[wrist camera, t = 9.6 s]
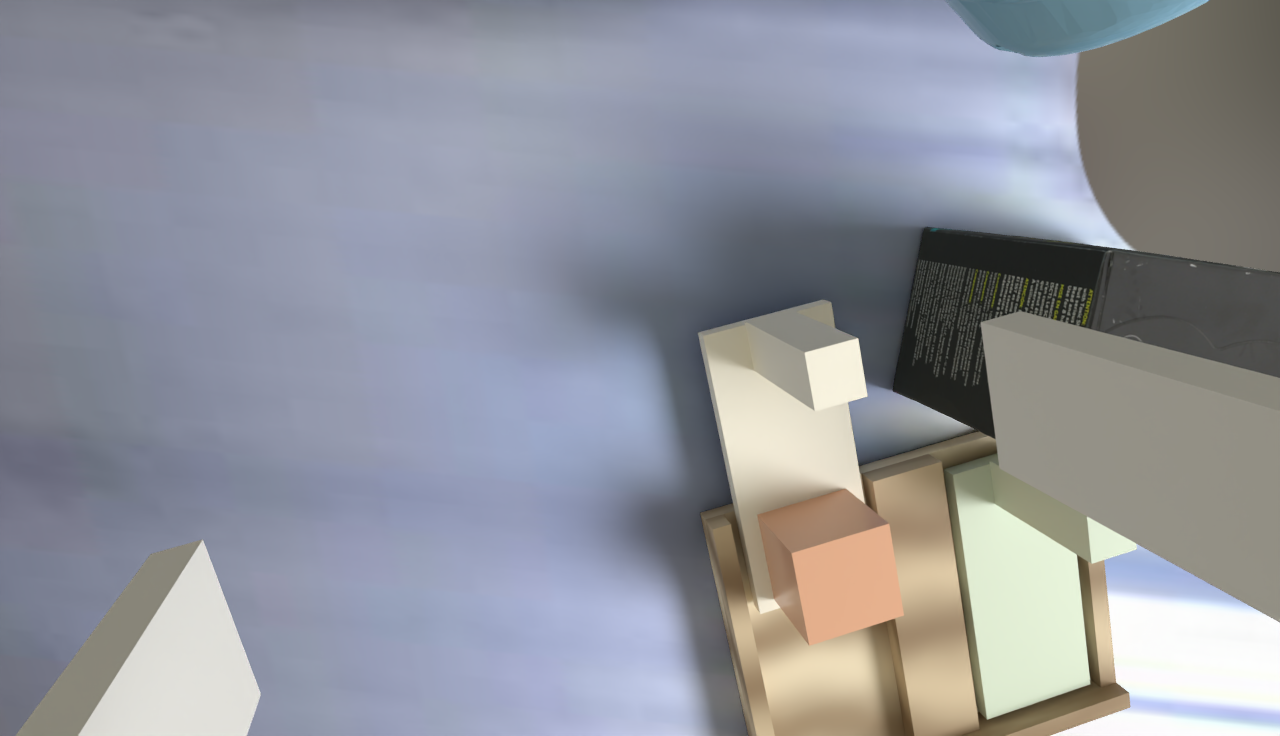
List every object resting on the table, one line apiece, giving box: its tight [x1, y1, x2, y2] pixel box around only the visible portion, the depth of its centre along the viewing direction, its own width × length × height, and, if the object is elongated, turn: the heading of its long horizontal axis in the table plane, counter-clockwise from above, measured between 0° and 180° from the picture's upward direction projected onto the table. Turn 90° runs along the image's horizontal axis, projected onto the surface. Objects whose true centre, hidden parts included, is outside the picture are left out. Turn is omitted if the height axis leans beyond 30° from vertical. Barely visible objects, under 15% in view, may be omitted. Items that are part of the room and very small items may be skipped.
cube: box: [757, 489, 904, 646], centre depth 47 cm, size 5×5×5 cm
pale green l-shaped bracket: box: [944, 453, 1137, 720], centre depth 49 cm, size 16×7×9 cm, turn 13°
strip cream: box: [698, 299, 868, 614], centre depth 45 cm, size 16×7×9 cm, turn 13°
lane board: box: [700, 431, 1130, 736], centre depth 53 cm, size 18×22×4 cm
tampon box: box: [893, 227, 1280, 439], centre depth 44 cm, size 11×9×15 cm
